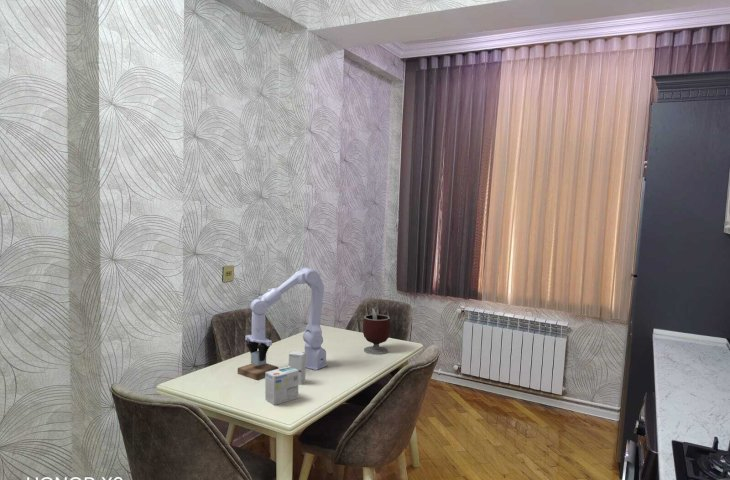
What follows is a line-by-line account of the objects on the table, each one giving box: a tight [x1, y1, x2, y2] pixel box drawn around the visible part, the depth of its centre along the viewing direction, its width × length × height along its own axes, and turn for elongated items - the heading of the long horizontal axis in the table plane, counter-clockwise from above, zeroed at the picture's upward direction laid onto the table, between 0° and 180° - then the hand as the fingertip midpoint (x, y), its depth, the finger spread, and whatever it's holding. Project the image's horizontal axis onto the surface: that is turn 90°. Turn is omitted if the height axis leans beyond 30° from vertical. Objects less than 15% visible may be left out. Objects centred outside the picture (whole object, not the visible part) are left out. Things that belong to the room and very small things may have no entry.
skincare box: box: [288, 350, 307, 385], centre depth 193 cm, size 6×4×12 cm
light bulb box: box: [264, 365, 299, 406], centre depth 175 cm, size 11×7×11 cm, turn 133°
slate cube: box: [250, 350, 267, 365], centre depth 202 cm, size 4×4×4 cm
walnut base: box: [237, 362, 279, 381], centre depth 202 cm, size 12×12×3 cm
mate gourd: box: [362, 307, 391, 356], centre depth 239 cm, size 16×14×20 cm
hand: (258, 359), depth 202 cm, fingers closed on slate cube, 4 cm apart
